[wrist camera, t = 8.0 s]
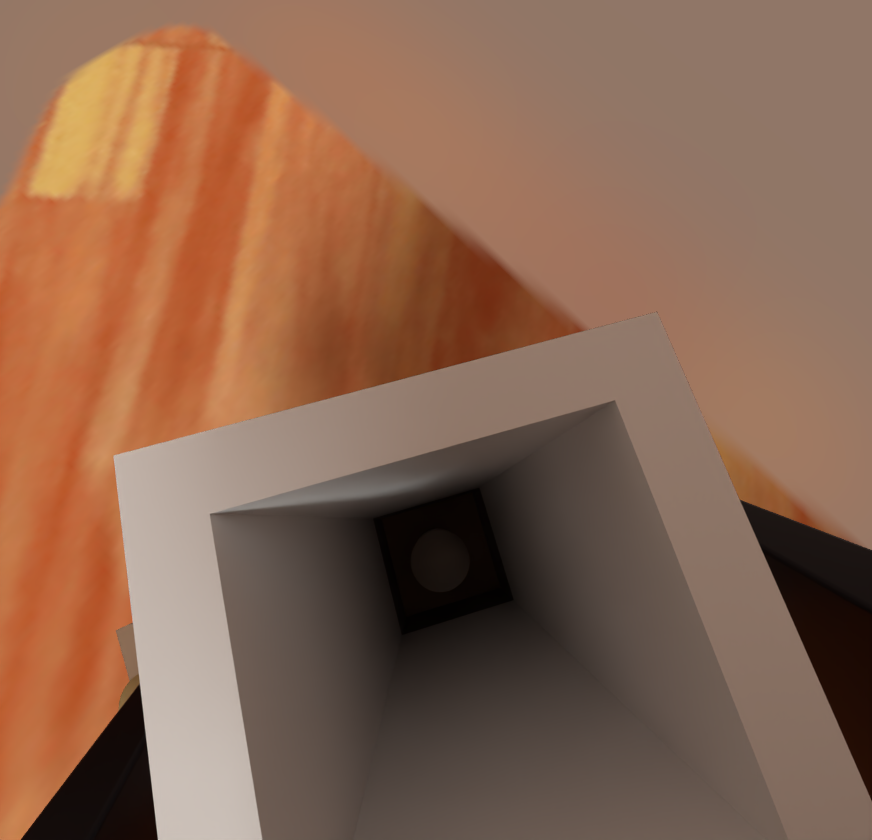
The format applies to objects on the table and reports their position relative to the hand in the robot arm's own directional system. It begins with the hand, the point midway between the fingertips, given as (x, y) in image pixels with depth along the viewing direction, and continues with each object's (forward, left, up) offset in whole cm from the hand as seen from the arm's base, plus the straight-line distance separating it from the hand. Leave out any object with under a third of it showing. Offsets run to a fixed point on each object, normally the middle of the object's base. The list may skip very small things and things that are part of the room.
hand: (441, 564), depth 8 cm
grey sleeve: (0, 0, -8) cm, 8 cm away
